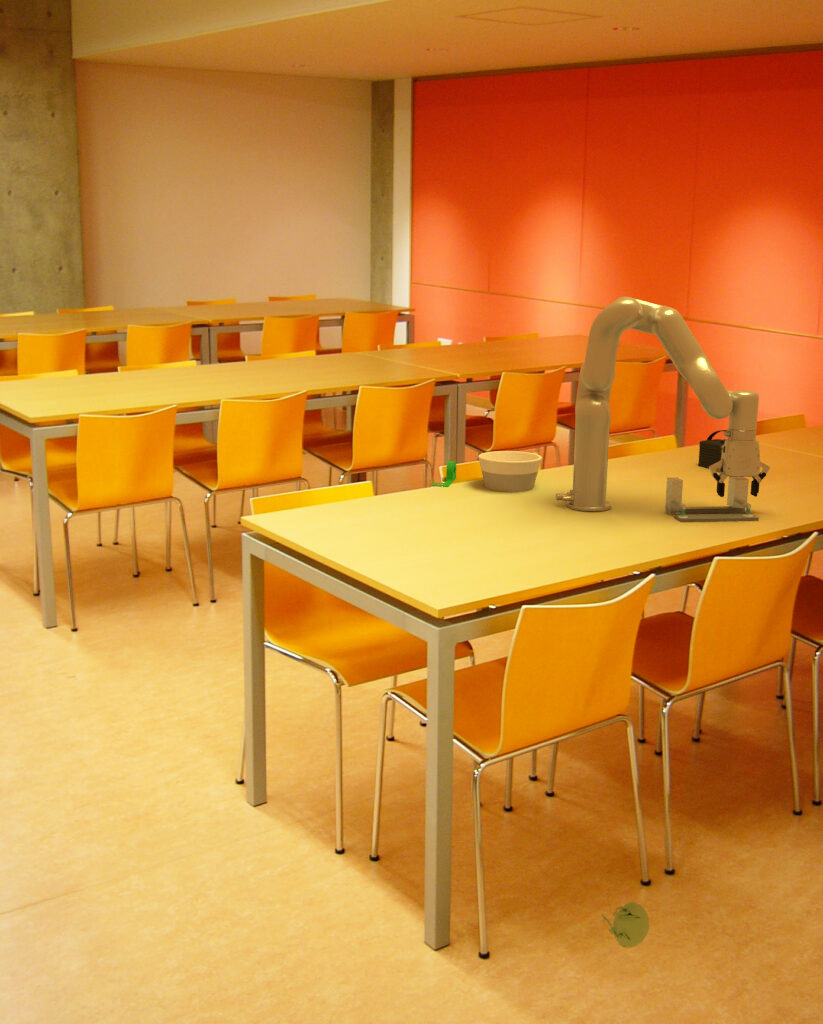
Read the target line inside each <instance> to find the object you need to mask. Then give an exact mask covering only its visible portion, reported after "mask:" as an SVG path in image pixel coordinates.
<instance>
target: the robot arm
mask: <svg viewBox="0 0 823 1024" xmlns="http://www.w3.org/2000/svg"><path fill="white" fill-rule="evenodd" d="M628 329H630V330H634V331H638V332H640V333H645V334H649V335H653V336H656V338H657V339H658V341H659V343H660V344H661V346H662V348H663V349H664V351H665V353H666V354H667V355H668V357H669V360H671V362H672V364H673V365H674V367H675V368H676V370H677V371H678V373H679V374H680V375H681V377H683V378H684V379H685V381H686V383H688V385H689V387H690V388H691V389H692V391H693V392H694V394H695V396H696V398H697V399H698V401H699V402H700V406H701V409H702V410H703V411H704V412H705V414H707V415H708V417H710V418H712V419H714V420H722V419H726V418H727V417H728V426H727V427H728V428H727V429H726V430H727V431H722V435H723V436H724V437H726V438H727V439H726V440H725V443H724V446H723V450H722V456H721V461H719V462H717V463H715V464H713V465H711V466H709V469H708V470H709V472H710V474H711V476H712V477H713V478H714V479H715V481H716V493H717V496H719V497H721V498H724V497H725V491H726V490H725V489H726V483H725V480H726V479H727V478H729V477H744V478H752V481H751V483H750V492H749V493H750V495H751V496H753V497H756V498H757V497H758V494H759V492H760V483H761V482H762V480H764V479H765V477H766V476H767V474H768V472H769V470H770V469H771V467H770V466H769V465H767V464H765V463H764V462H762V461H761V453H760V452H761V449H760V441H759V440H757V438H756V437H757V428H758V427H757V426H758V416H759V415H758V413H759V403H760V402H759V399H760V397H759V394H758V393H757V392H756V391H753V390H747V389H746V390H744V389H743V390H742V389H741V390H740V389H739V390H728V389H727V388H726V387H725V385H724V384H723V382H722V381H721V378H719V377H720V376H718V374H717V372H716V371H715V370H714V367H713V366H712V364H711V362H710V360H709V358H708V357H707V355H706V353H705V352H704V350H703V348H702V347H701V345H700V344H699V342H698V341H697V338H696V337H695V335H694V334H693V331H691V328H690V327H689V326H688V324H687V322H686V321H685V319H684V318H683V316H682V314H681V313H680V312H679V311H678V310H677V309H675V308H674V307H670V306H667V305H661V304H656V303H652V302H649V301H645V300H642V299H637V298H633V297H630V296H621V297H619V298H616V299H615V300H614V301H613V302H612V303H610V304H609V305H607V306H606V307H604V308H603V309H601V311H599V313H598V314H597V315H596V317H595V318H594V320H593V322H592V324H591V327H590V329H589V333H588V338H587V345H586V350H585V357H584V361H583V363H582V364H581V367H580V371H579V376H578V384H577V389H576V399H575V405H574V406H575V407H574V413H575V421H574V422H575V428H574V445H573V446H574V447H573V450H574V451H573V470H572V471H573V473H572V474H573V475H572V476H573V477H572V489H569V492H568V491H567V492H566V493H561V492H560V493H559V492H558V493H555V500H556V501H562V502H566V507H568V508H569V509H571V510H576V511H580V512H581V511H582V512H583V511H584V512H602V511H609V510H611V509H612V503H611V502H610V501H607V491H608V490H607V489H608V487H607V486H608V483H607V482H608V469H609V468H608V466H609V465H608V464H609V447H610V445H609V442H610V430H611V419H612V418H611V417H612V416H611V408H610V398H611V392H612V386H613V383H614V381H615V377H616V365H617V364H616V363H617V357H618V356H617V355H618V350H619V345H620V339H621V337H622V335H623V334H624V332H626V331H627V330H628ZM719 467H720V472H721V473H718V472H716V469H717V468H719ZM761 468H762V470H761ZM760 470H761V471H760Z"/></svg>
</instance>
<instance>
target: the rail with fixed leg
mask: <svg viewBox="0 0 823 1024" xmlns="http://www.w3.org/2000/svg"><path fill="white" fill-rule="evenodd" d="M683 483H684V480H683V479H681V478H679V477H677V476H676V477H675V476H674V477H667V478H666V491H665V505H664V506H665V507H664V512H665V513H666V514H668V515H670V516H675V515H707V514H746V508H732V507H730V506H729V505H727V506H724V505H723V506H721V505H719V506H687V505H685V503H682V500H683V499H682V498H683V486H684V485H683Z"/></svg>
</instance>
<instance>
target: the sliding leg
mask: <svg viewBox="0 0 823 1024" xmlns="http://www.w3.org/2000/svg"><path fill="white" fill-rule="evenodd" d="M749 480H750V479H749V478H748V477H729V476H728V484H727V500H726V505H727V506H730V507H732V508H745V514H751V509H752V504H750V503H748V497H749V495H748V494H749V493H748V492H749Z"/></svg>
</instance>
